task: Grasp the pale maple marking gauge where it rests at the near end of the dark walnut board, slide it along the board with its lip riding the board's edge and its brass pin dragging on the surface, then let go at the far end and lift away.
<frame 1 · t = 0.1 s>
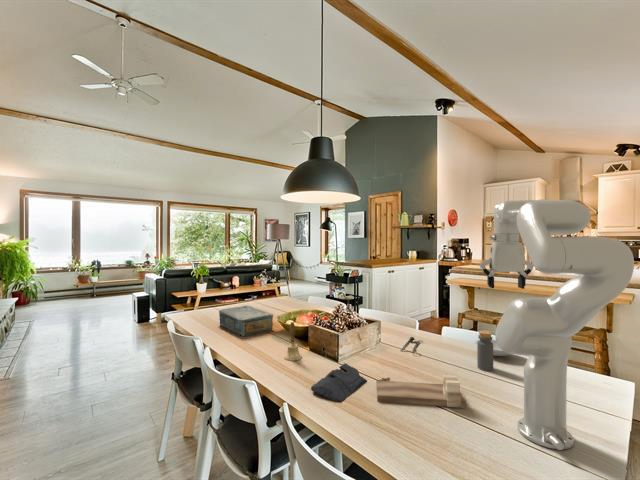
hand: (506, 287, 109), 37 cm above the table, tool pointing down, fingers open, 9 cm apart
metal box: (245, 328, 191), on the table
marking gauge: (451, 397, 103), point 2 cm above the table, touching walnut board
dish: (496, 356, 143), on the table
bottle: (485, 368, 130), on the table
hand bell: (293, 357, 143), on the table
walnut board: (418, 395, 108), on the table
dark slate chunk: (338, 387, 116), on the table
hand saw: (388, 373, 127), on the table
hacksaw: (415, 347, 155), on the table
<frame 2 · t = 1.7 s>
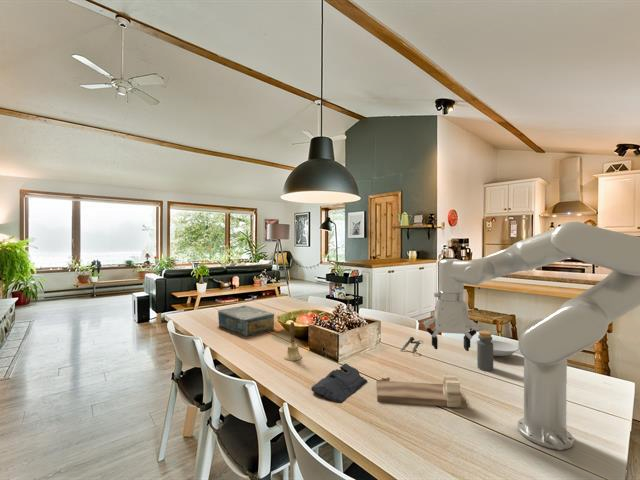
hand: (450, 348, 103), 18 cm above the table, tool pointing down, fingers open, 9 cm apart
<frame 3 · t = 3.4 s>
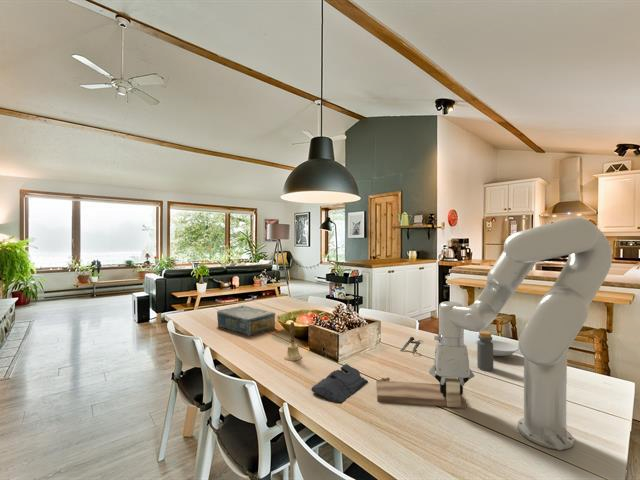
hand: (451, 395, 103), 3 cm above the table, tool pointing down, fingers closed on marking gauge, 4 cm apart
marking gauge: (451, 397, 103), point 2 cm above the table, touching gripper, walnut board
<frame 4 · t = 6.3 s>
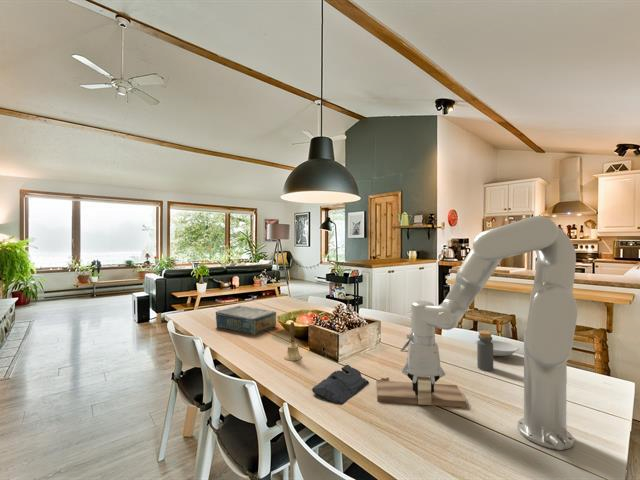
hand: (423, 393, 104), 3 cm above the table, tool pointing down, fingers closed on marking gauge, 4 cm apart
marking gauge: (423, 395, 104), point 2 cm above the table, touching gripper, walnut board
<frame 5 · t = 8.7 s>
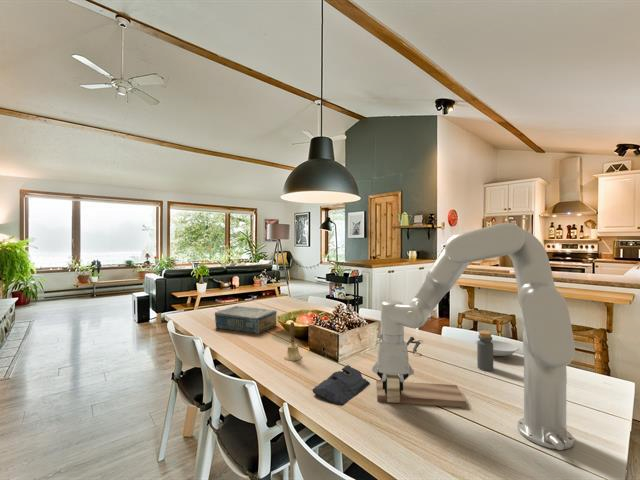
hand: (392, 391, 106), 3 cm above the table, tool pointing down, fingers closed on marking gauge, 4 cm apart
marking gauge: (392, 392, 106), point 2 cm above the table, touching gripper
when the fingers open (3 cm above the table, at t = 9.7 s): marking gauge stays where it is, resting on walnut board.
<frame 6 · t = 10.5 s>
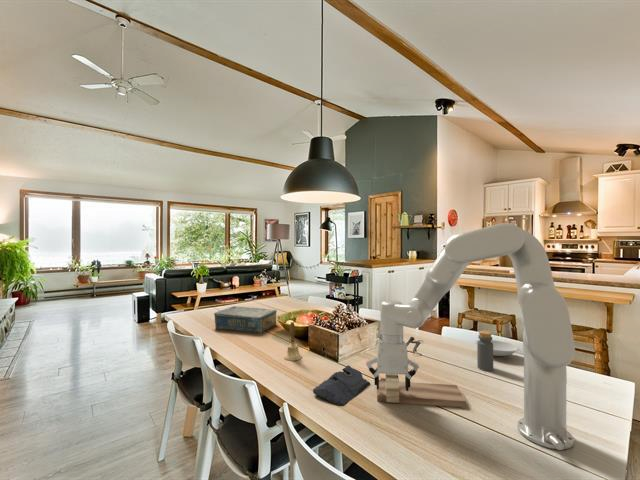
hand: (392, 388, 106), 4 cm above the table, tool pointing down, fingers open, 9 cm apart
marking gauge: (392, 392, 106), point 2 cm above the table, touching walnut board
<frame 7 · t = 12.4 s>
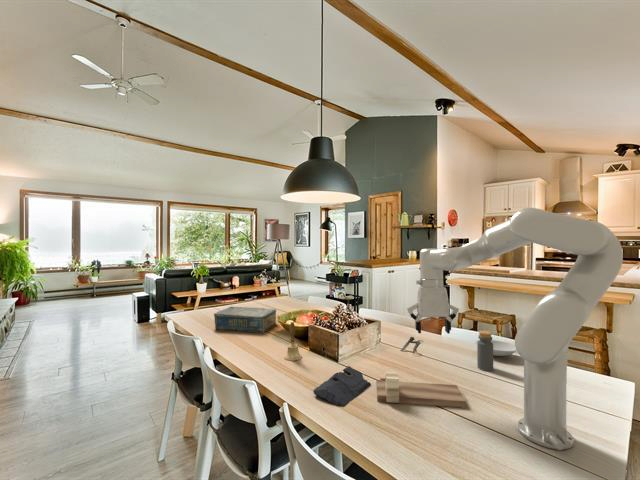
hand: (433, 332, 110), 21 cm above the table, tool pointing down, fingers open, 9 cm apart
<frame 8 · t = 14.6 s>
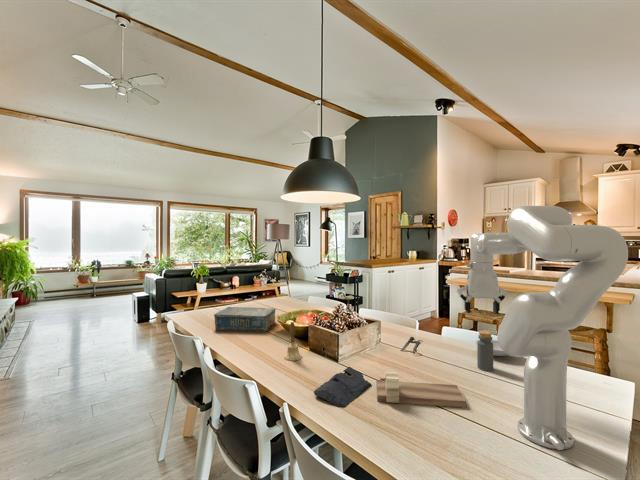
hand: (481, 312, 116), 26 cm above the table, tool pointing down, fingers open, 9 cm apart
at the end: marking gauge 0.1 cm from the target spot, point 2.0 cm above the table; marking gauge tilted 0°; the gripper is holding nothing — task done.
